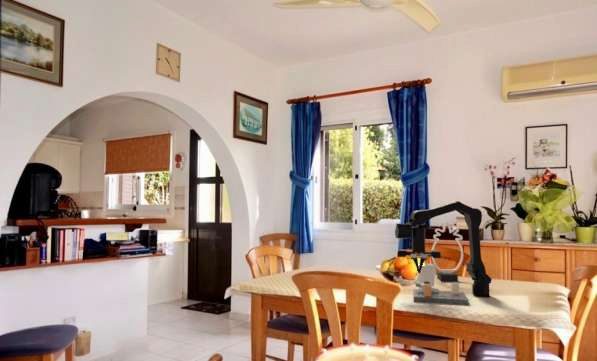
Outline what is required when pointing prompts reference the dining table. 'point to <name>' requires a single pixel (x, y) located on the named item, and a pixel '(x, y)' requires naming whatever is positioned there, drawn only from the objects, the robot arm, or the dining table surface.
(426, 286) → the paddle
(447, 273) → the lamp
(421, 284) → the rocker
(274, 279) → the dining table surface
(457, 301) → the panel
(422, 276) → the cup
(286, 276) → the dining table surface
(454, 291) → the paddle
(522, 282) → the dining table surface
